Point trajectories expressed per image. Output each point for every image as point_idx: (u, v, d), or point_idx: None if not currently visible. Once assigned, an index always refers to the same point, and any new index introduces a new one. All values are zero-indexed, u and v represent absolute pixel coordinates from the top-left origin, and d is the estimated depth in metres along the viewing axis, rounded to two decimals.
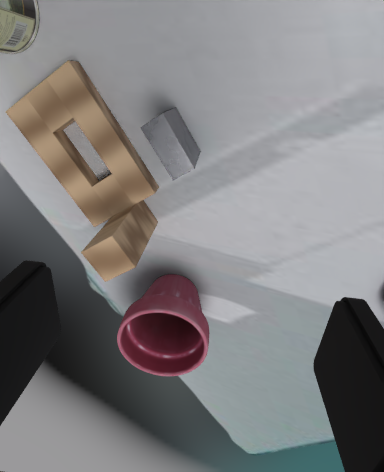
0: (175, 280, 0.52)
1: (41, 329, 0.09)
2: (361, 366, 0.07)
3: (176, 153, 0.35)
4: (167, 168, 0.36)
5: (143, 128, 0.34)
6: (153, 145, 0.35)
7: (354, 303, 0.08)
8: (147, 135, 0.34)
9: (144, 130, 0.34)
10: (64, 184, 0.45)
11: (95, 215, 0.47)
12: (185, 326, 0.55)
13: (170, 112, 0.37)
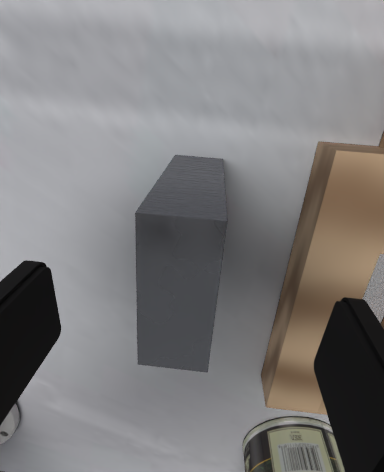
0: None
1: (41, 329, 0.09)
2: (361, 366, 0.07)
3: (162, 280, 0.11)
4: (216, 262, 0.10)
5: (202, 367, 0.13)
6: (208, 329, 0.12)
7: (354, 303, 0.08)
8: (204, 352, 0.12)
9: (203, 363, 0.12)
10: None
11: None
12: None
13: None
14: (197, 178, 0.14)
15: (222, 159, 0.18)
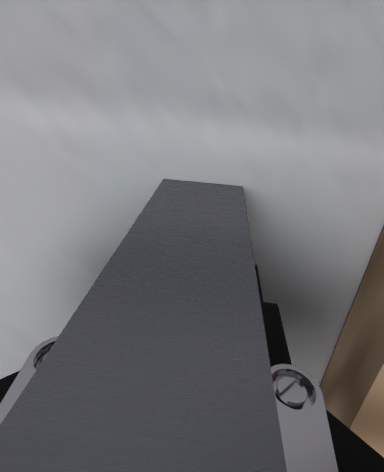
0: None
1: None
2: None
3: None
4: None
5: None
6: None
7: None
8: None
9: None
10: None
11: None
12: None
13: None
14: (196, 249, 0.07)
15: (241, 188, 0.11)
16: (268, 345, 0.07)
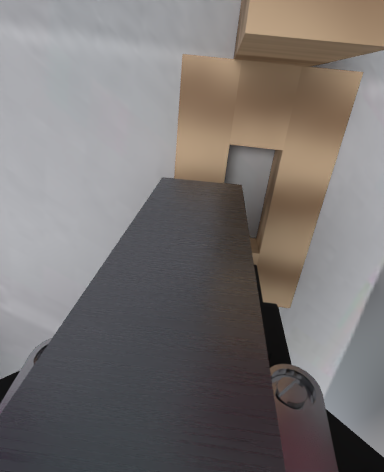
0: None
1: None
2: None
3: None
4: None
5: None
6: None
7: None
8: None
9: None
10: (322, 186, 0.23)
11: (332, 96, 0.20)
12: None
13: None
14: (195, 247, 0.07)
15: (241, 186, 0.11)
16: (268, 345, 0.07)
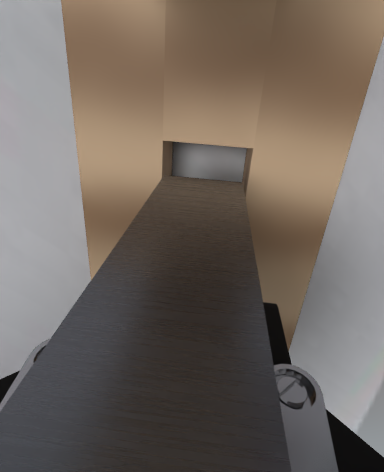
0: None
1: None
2: None
3: None
4: None
5: None
6: None
7: None
8: None
9: None
10: (322, 207, 0.14)
11: (337, 46, 0.11)
12: None
13: None
14: (197, 242, 0.07)
15: (242, 183, 0.11)
16: None
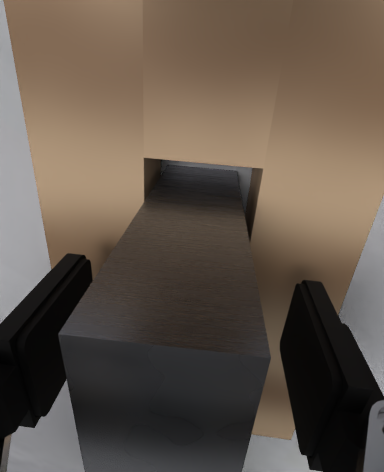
0: None
1: None
2: (310, 339, 0.08)
3: (129, 444, 0.05)
4: (242, 424, 0.05)
5: None
6: None
7: (311, 284, 0.09)
8: None
9: None
10: (352, 243, 0.11)
11: None
12: None
13: None
14: (200, 213, 0.08)
15: (235, 171, 0.13)
16: (366, 379, 0.06)
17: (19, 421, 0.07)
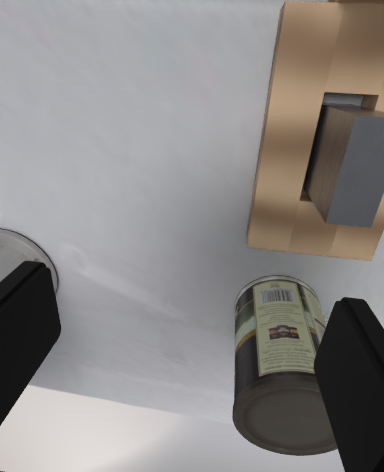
0: None
1: (41, 329, 0.09)
2: (361, 366, 0.07)
3: (359, 160, 0.18)
4: None
5: (368, 224, 0.20)
6: (379, 194, 0.19)
7: (354, 303, 0.08)
8: (373, 212, 0.20)
9: (369, 221, 0.20)
10: None
11: None
12: None
13: (312, 197, 0.24)
14: (357, 109, 0.21)
15: None
16: None
17: None
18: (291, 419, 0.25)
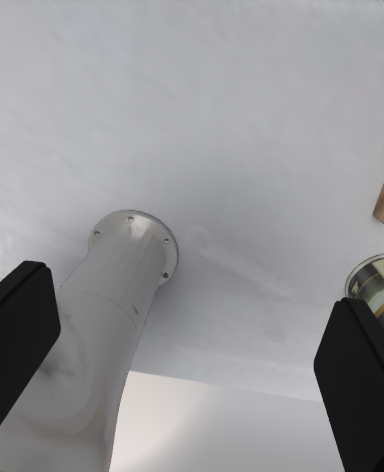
0: None
1: (41, 329, 0.09)
2: (361, 366, 0.07)
3: None
4: None
5: None
6: None
7: (354, 303, 0.08)
8: None
9: None
10: None
11: None
12: None
13: None
14: None
15: None
16: None
17: None
18: None
